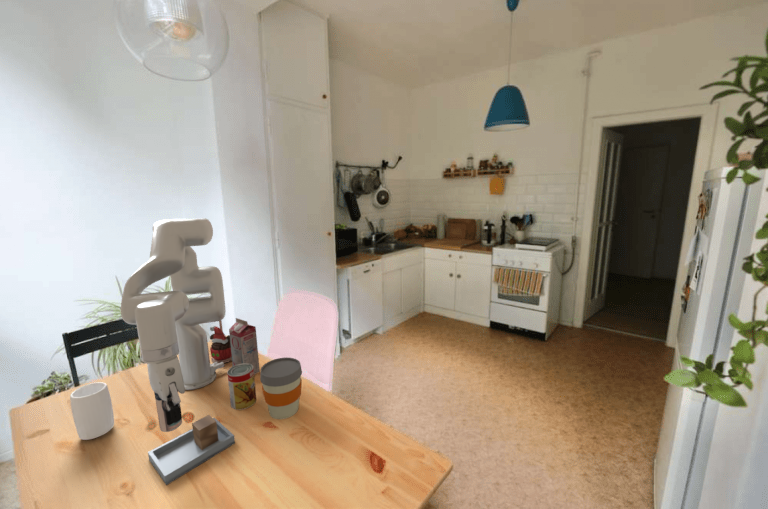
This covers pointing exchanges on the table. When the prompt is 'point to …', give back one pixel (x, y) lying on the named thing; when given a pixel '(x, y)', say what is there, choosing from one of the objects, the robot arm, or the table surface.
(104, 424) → the cup
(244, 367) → the canned food
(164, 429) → the beer can
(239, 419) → the table surface
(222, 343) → the christmas cupcake figurine
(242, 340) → the juice carton
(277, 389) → the reusable coffee cup
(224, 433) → the tray
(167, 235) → the robot arm
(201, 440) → the block
